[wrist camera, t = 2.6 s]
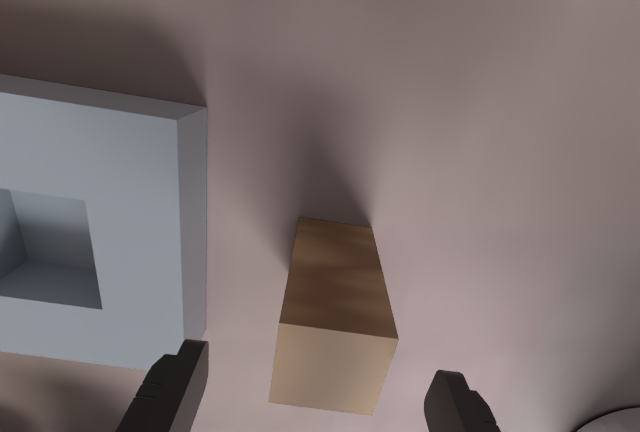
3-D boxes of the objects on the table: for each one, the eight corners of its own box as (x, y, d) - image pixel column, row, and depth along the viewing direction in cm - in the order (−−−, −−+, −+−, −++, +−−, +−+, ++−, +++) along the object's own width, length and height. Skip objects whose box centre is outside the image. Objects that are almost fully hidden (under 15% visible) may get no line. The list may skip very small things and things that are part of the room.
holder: (207, 107, 16) (176, 120, 13) (205, 328, 22) (184, 375, 19) (-102, 57, 15) (-215, 58, 12) (-16, 299, 21) (-77, 341, 18)
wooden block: (371, 227, 18) (398, 339, 11) (357, 286, 20) (372, 415, 13) (299, 216, 18) (279, 322, 11) (290, 276, 20) (268, 402, 13)
